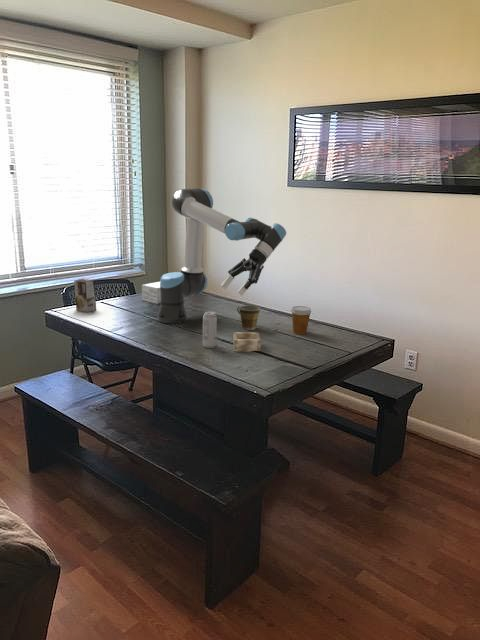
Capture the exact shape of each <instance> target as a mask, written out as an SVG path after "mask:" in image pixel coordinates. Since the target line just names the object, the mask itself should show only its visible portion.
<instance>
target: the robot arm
mask: <svg viewBox="0 0 480 640" xmlns="http://www.w3.org/2000/svg"><path fill="white" fill-rule="evenodd" d="M171 206H172V208H173V210H174V211H175V212H176V213H177V214H179V215H180V216H183V217H185V219H186V229H185V242H184V243H185V246H184V262H183V266H182V267H181V268H180V272H179V271H174V272H168V273H167V272H166V273H164V274H163V275H162V276H160V281H159V282H160V294H161V303H160V306H159V309H158V313H157V321H158V322H160V323H164V324H180V323H184V322H187V321H188V313H187V310H186V309H187V308H186V307H185V298H186V297H191V296H195V295H199V294H201V293H203V292H204V291H205V290H206V288H207V286H208V278H207V276H206V275H207V274H205V272H204V269H203V268H202V255H203V254H202V253H203V242H204V241H203V239H204V230H205V229H204V228H205V227H204V226H205V225H206V226H209V227H211V228H213V229H214V230H216V231H218V232H221V233H223V234H224V235H225V236H226V237H227V239H228V240H230V241H237V242H238V241H241V240H247V239H248V240H249V239H257V240H259V241H258V243H257V244H256V245H255V246H254V248H253V249H252V250H251V252H250V253H249V254H248V256H249V257H248V259H246V258H245V257H244V258H243V259H241V260H240V261H239V262H238V263H237V264H235V265H234V266H233V267H232V268H230V269H229V270H228V271H227V273H228V275H227V276H226V278H225V279H224V280H223V282H222V283H221V285H220V287H222V288H223V290H227V288H228V287H229V286H230V284H231V283H232V282H233V281H234V280H235V277H237V276H238V275H240V274H242V273H244V272H247V271H248V272H249V273H248V274H249V275H248V278H247V279H246V280H245V281H244V283H243V284H242V285H241V286H240V288H239V289H237V293H238V294H239V295H240V296H243V295H245V293H246V291H247V290H248V289H249V288H250V287H251V286H252V285H254V284H255V285H256V284H258V281H259V279H260V276H261V273H262V271H263V269H264V268H265V266H264V264H265V263H266V262H267V259H268V258H269V257H270V256H271V254H272V253H273V252H274V251H275V249H277V247H278V246H279V245H280V244H281V243H282V242H283V240H284V239H285V238H286V235H287V231H286V228H285V227H284V226H283V225H281V224H280V223H277V222H276V223H273V224H272V225H268V224H266V223H264V222H262V221H260V220H258V219H256V218H254V217H248V218H247V219H245V221H239V220H237V219H236V218H235V219H234V218H233V217H231V216H228V215H227V214H224V213H222V212H221V211H220V212H219V211H218V210H216V209H214V208H213V207H214V199H213V196H212V194H211V193H210V192H209V191H208V190H207V189H205V188H197V187H196V188H181V189H178V190H176V191H175V192H174V194H173V195H172V197H171Z"/></svg>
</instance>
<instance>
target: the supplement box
mask: <svg viewBox="0 0 480 640" xmlns="http://www.w3.org/2000/svg"><path fill="white" fill-rule="evenodd" d="M141 300H142V301H145V302H149V303H152V304H156V305H158V304H161V294H160V281H155V282H149V283H145V284H142V285H141Z"/></svg>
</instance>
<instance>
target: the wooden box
mask: <svg viewBox="0 0 480 640" xmlns="http://www.w3.org/2000/svg"><path fill="white" fill-rule="evenodd" d="M232 338H233V339H232V340H233V341H232V343H233V350H234V352H251V351H260V352H261V337H260V334H259V332H243V331H242V332H241V331H240V332H235V331H234V332H233V337H232Z"/></svg>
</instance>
